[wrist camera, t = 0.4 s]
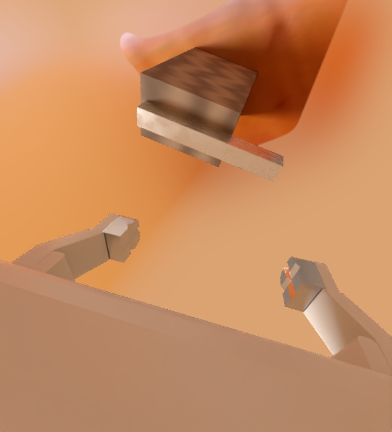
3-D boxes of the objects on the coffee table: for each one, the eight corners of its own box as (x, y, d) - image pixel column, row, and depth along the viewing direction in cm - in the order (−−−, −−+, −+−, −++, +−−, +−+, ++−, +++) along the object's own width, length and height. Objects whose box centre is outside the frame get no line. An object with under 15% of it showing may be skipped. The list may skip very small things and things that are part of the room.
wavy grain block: (257, 72, 44) (240, 113, 27) (240, 115, 51) (218, 166, 35) (195, 47, 44) (140, 72, 27) (187, 93, 52) (140, 135, 35)
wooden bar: (283, 156, 30) (283, 166, 28) (273, 170, 32) (272, 181, 30) (146, 100, 30) (137, 106, 28) (146, 118, 33) (137, 125, 31)
